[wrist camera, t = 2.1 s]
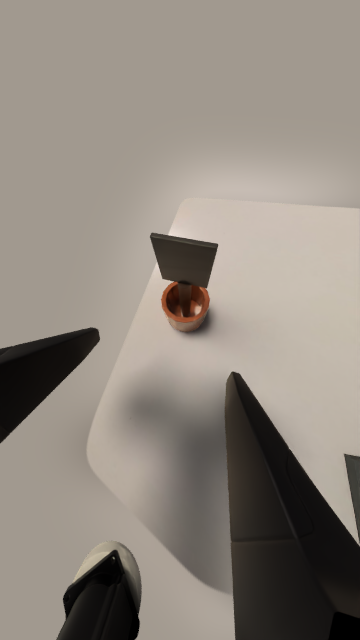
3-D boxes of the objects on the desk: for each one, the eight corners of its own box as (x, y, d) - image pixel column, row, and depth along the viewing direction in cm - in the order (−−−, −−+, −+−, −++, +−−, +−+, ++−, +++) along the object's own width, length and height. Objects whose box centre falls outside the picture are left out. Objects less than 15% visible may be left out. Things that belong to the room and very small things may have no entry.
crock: (180, 339, 22) (177, 331, 16) (160, 309, 23) (153, 293, 18) (211, 318, 22) (219, 305, 17) (190, 291, 24) (191, 271, 19)
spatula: (198, 320, 22) (215, 254, 8) (170, 313, 22) (146, 242, 9) (200, 312, 22) (220, 237, 9) (173, 305, 23) (154, 226, 10)
